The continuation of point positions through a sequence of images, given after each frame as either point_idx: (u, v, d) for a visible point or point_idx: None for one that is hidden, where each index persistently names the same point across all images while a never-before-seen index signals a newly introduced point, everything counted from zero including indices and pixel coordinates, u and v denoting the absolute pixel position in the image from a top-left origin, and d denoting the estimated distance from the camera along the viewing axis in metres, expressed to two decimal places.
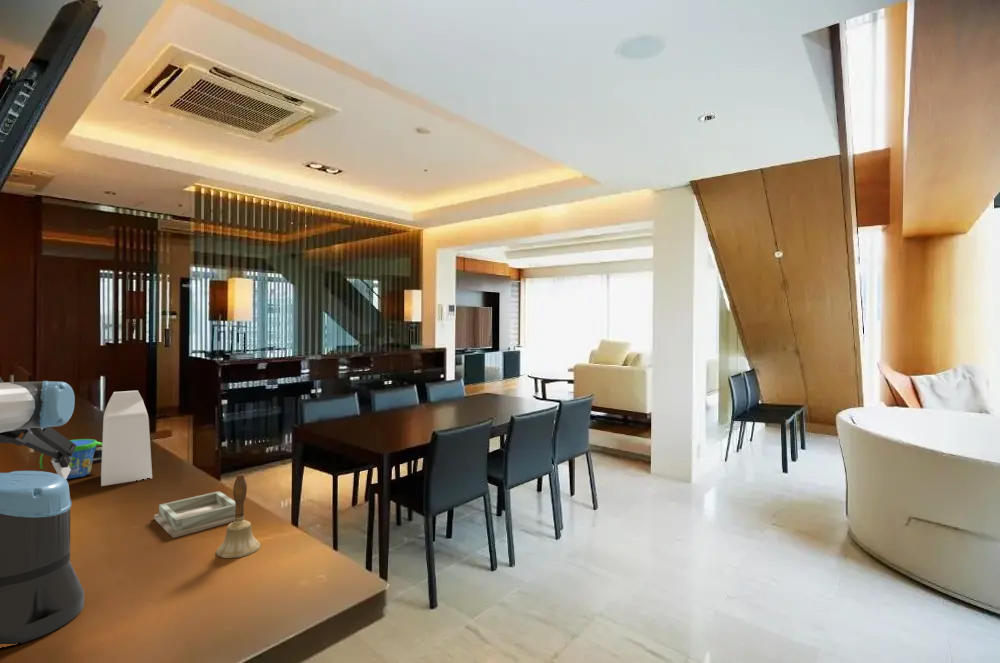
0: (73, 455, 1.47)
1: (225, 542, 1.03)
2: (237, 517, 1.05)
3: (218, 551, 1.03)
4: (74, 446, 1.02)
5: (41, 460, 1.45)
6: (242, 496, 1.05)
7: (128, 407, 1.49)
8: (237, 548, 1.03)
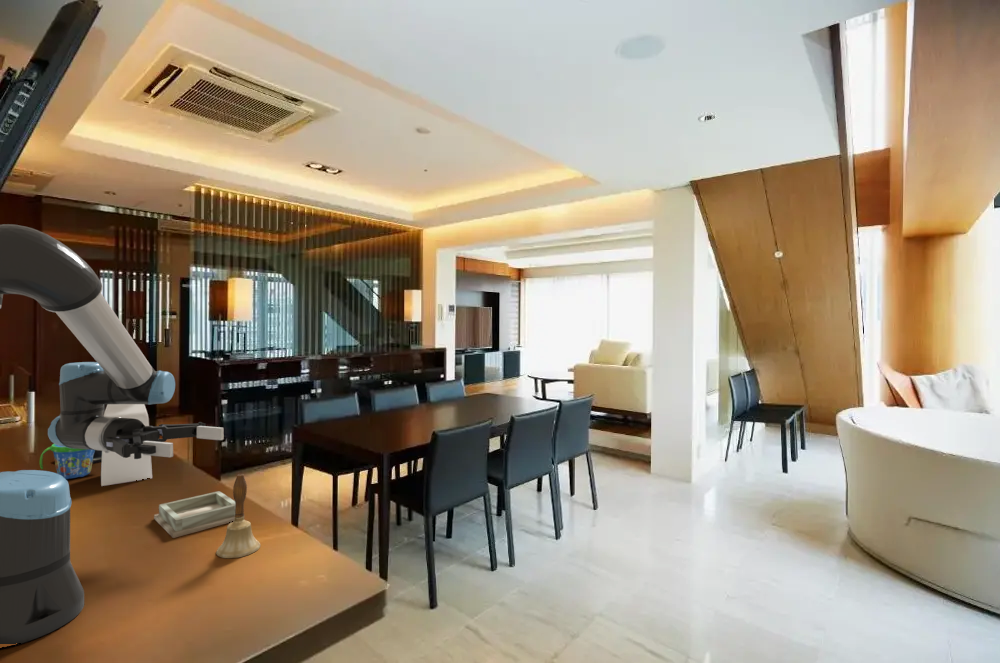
0: (73, 455, 1.47)
1: (225, 542, 1.03)
2: (237, 517, 1.05)
3: (218, 551, 1.03)
4: None
5: (41, 460, 1.45)
6: (242, 496, 1.05)
7: (128, 407, 1.49)
8: (237, 548, 1.03)
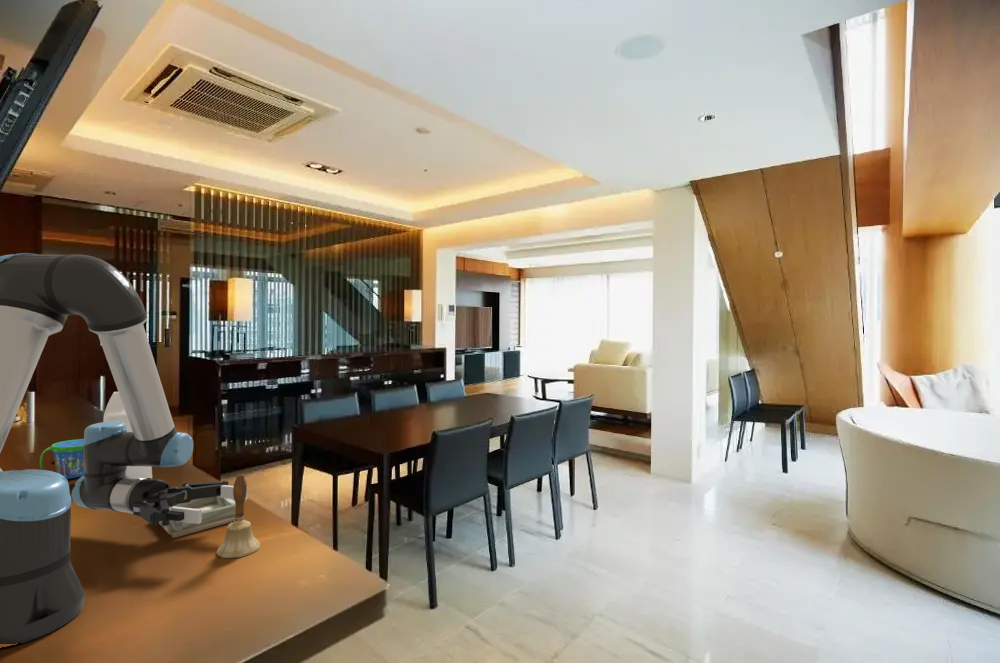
0: (73, 455, 1.47)
1: (225, 542, 1.03)
2: (237, 517, 1.05)
3: (218, 551, 1.03)
4: None
5: (41, 460, 1.45)
6: (242, 496, 1.05)
7: None
8: (237, 548, 1.03)
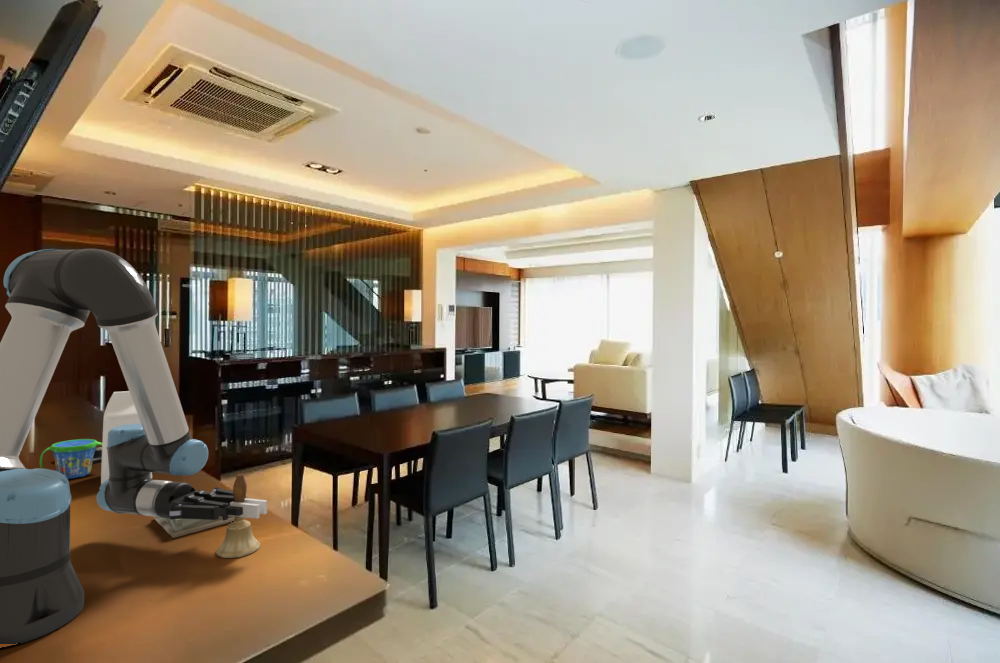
0: (73, 455, 1.47)
1: (225, 541, 1.03)
2: None
3: (218, 551, 1.03)
4: None
5: (41, 460, 1.45)
6: (242, 496, 1.04)
7: (128, 407, 1.49)
8: (237, 548, 1.03)
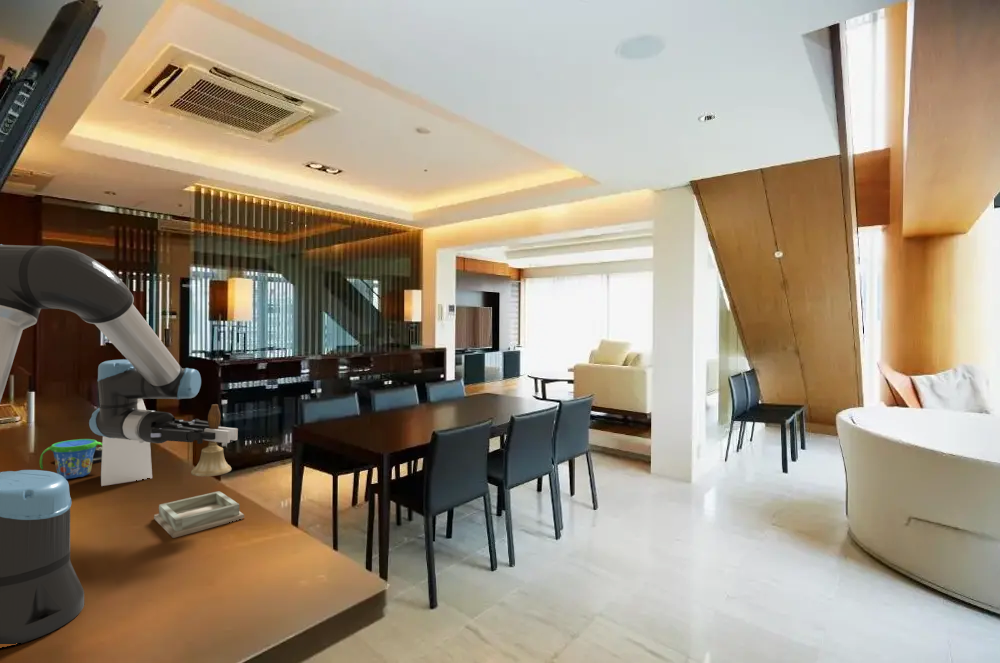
0: (73, 455, 1.47)
1: (199, 463, 1.16)
2: (210, 441, 1.17)
3: (193, 470, 1.16)
4: None
5: (41, 460, 1.45)
6: (215, 423, 1.17)
7: None
8: (209, 469, 1.15)
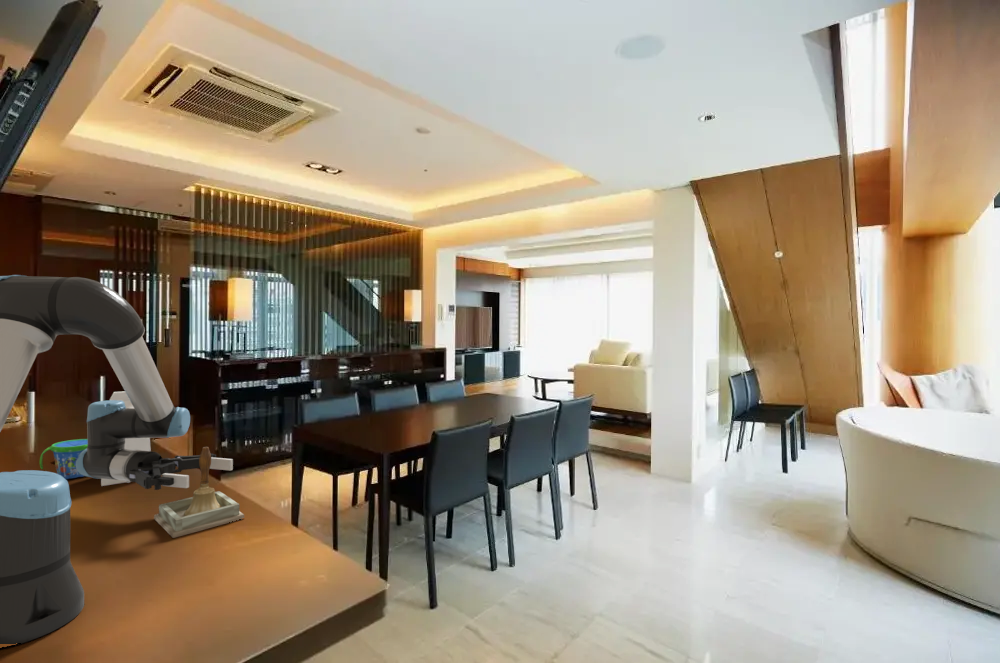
0: (73, 455, 1.47)
1: (191, 504, 1.20)
2: (202, 483, 1.21)
3: (185, 512, 1.20)
4: None
5: (41, 460, 1.45)
6: (206, 466, 1.21)
7: (128, 407, 1.49)
8: (201, 510, 1.20)
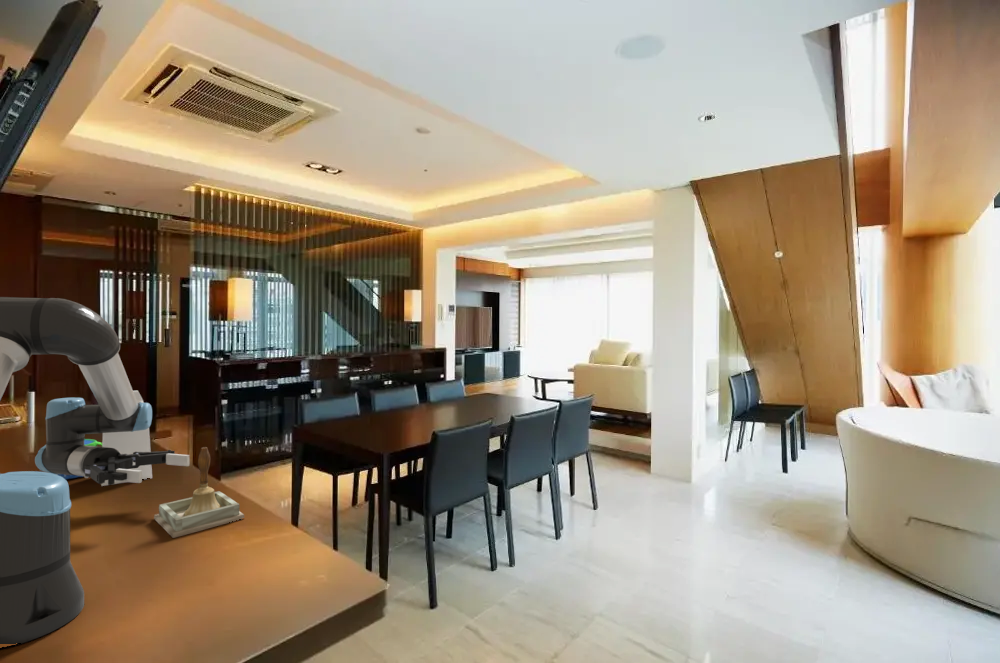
0: None
1: (191, 505, 1.20)
2: (201, 483, 1.21)
3: (185, 512, 1.20)
4: None
5: None
6: (205, 466, 1.21)
7: None
8: (201, 510, 1.20)
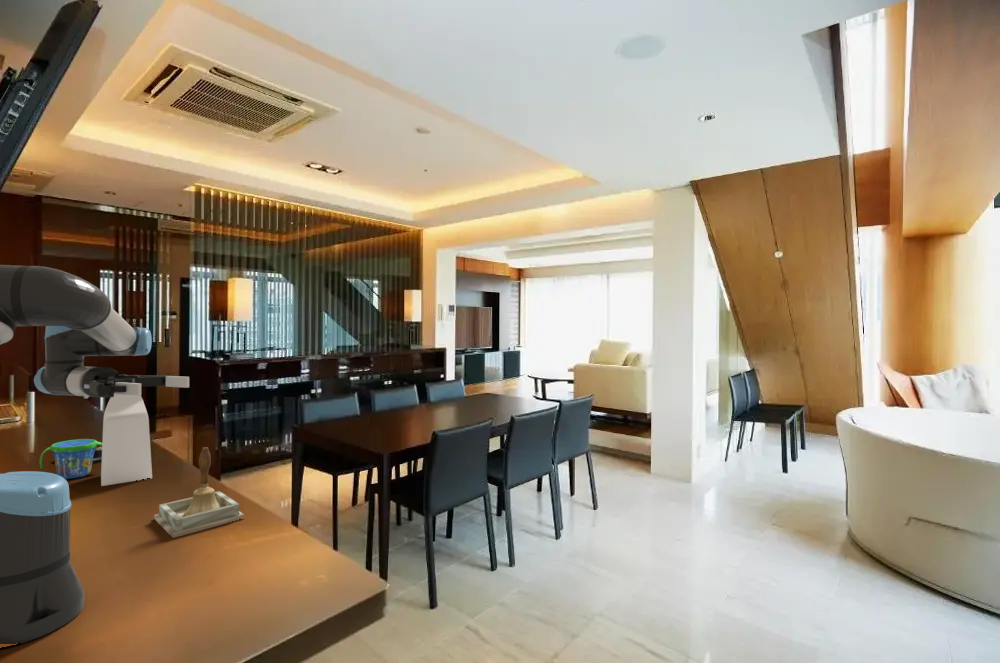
0: (73, 455, 1.47)
1: (191, 505, 1.20)
2: (202, 484, 1.21)
3: (185, 512, 1.20)
4: None
5: (41, 460, 1.45)
6: (206, 466, 1.21)
7: (128, 407, 1.49)
8: (201, 510, 1.20)
